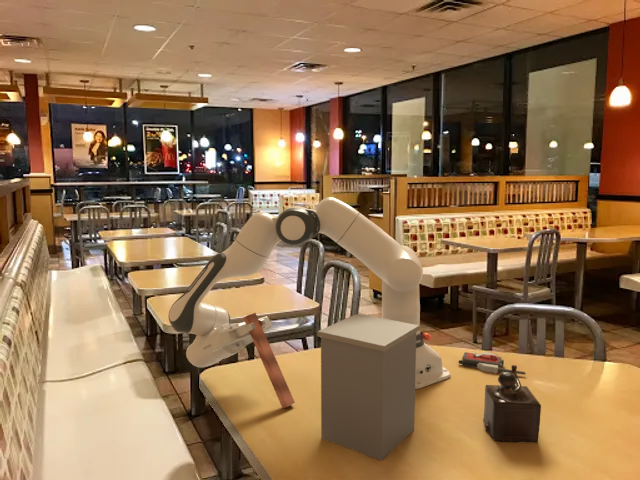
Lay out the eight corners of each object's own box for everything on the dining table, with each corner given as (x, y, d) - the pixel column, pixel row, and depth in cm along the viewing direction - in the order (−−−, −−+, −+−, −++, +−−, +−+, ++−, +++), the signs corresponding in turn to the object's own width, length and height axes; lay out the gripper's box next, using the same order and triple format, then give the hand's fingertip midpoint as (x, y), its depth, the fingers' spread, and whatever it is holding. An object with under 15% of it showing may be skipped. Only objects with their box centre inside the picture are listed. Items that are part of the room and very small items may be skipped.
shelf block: (318, 438, 122) (317, 331, 118) (356, 410, 135) (357, 313, 132) (382, 462, 112) (384, 346, 108) (416, 429, 126) (419, 325, 122)
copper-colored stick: (243, 317, 141) (247, 315, 140) (250, 315, 144) (255, 312, 143) (282, 408, 137) (287, 406, 136) (289, 404, 139) (294, 402, 138)
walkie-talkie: (456, 368, 164) (525, 379, 156) (457, 355, 163) (525, 365, 155) (461, 359, 172) (526, 368, 163) (462, 346, 171) (527, 355, 163)
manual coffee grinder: (479, 419, 131) (482, 350, 128) (525, 420, 130) (529, 351, 127) (496, 453, 115) (500, 376, 113) (548, 455, 115) (553, 377, 112)
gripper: (194, 339, 140) (225, 322, 133) (247, 321, 157) (277, 305, 149) (203, 361, 139) (235, 345, 131) (255, 340, 156) (286, 325, 148)
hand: (258, 324), depth 140 cm, fingers open, 3 cm apart
